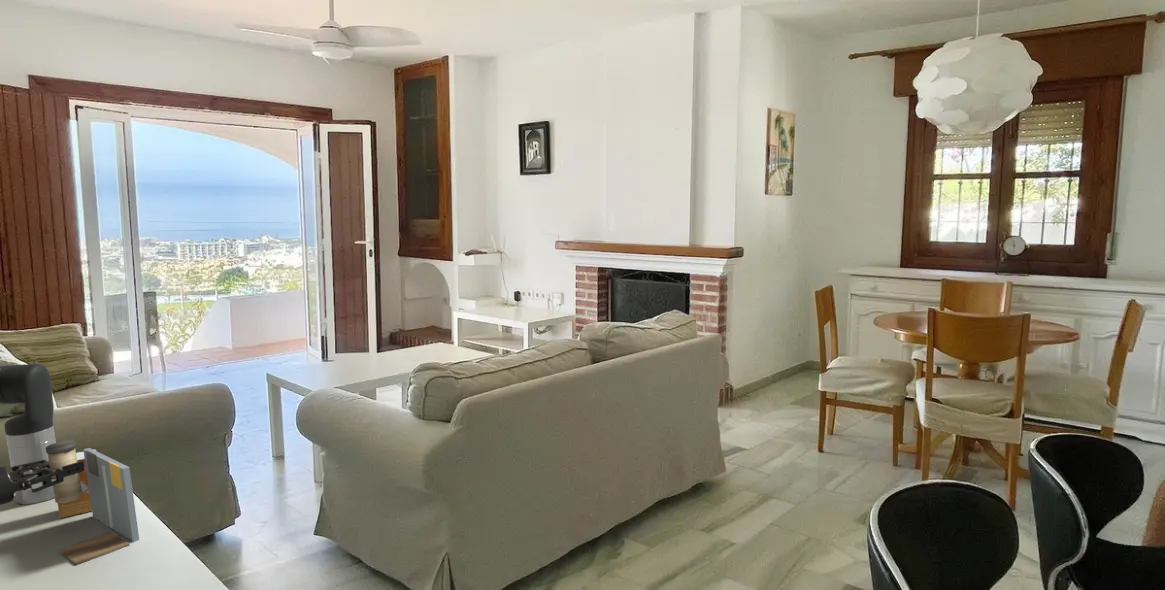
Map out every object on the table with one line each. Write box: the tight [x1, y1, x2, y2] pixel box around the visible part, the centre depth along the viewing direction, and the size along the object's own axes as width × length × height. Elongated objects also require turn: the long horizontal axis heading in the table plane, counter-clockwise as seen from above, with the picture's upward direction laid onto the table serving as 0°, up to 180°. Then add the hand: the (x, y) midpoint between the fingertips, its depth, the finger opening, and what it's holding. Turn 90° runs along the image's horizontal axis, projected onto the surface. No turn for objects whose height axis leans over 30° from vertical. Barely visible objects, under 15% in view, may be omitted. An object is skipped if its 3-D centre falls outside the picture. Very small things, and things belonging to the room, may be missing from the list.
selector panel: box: [82, 447, 140, 543], centre depth 154 cm, size 22×2×16 cm, turn 53°
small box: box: [57, 449, 97, 519], centre depth 164 cm, size 8×6×13 cm
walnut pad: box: [57, 530, 130, 566], centre depth 146 cm, size 10×10×1 cm
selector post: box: [46, 440, 82, 504], centre depth 152 cm, size 5×5×12 cm
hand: (78, 463), depth 154 cm, fingers closed on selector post, 4 cm apart
